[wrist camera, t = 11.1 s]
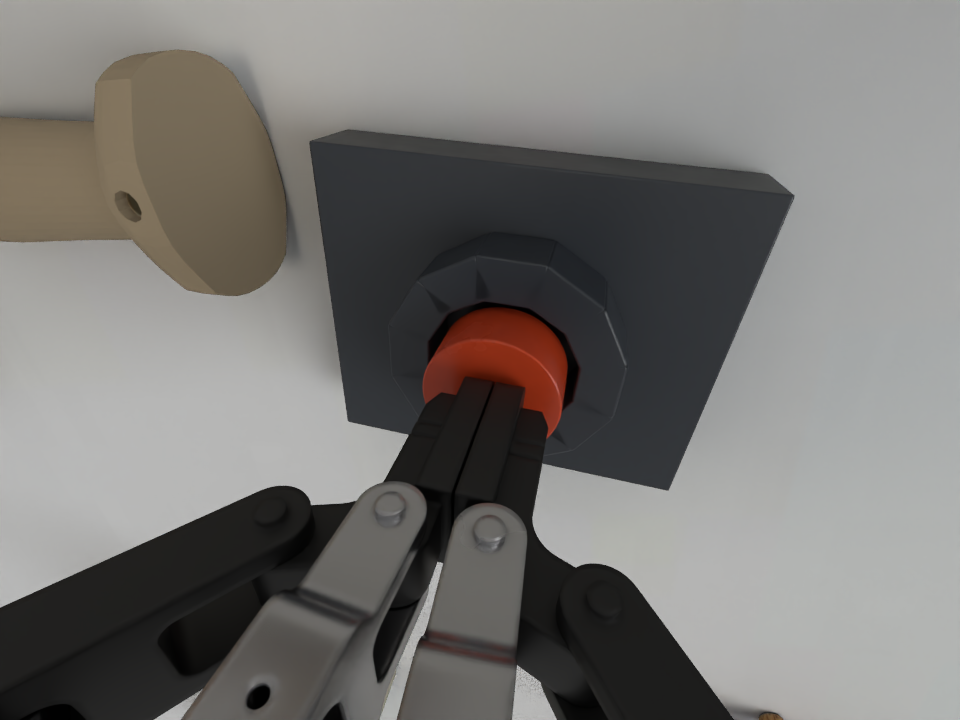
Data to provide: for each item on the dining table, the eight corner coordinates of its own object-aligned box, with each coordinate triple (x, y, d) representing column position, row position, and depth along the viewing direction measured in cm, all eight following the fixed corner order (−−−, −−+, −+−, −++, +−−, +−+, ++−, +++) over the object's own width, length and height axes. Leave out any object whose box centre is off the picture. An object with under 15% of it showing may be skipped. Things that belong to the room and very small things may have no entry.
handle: (-82, 76, 18) (245, 49, 14) (19, 242, 21) (303, 260, 17) (-286, 85, 14) (86, 50, 10) (-121, 286, 17) (203, 322, 13)
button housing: (770, 173, 12) (825, 219, 9) (663, 447, 18) (674, 535, 15) (346, 129, 14) (267, 153, 11) (371, 388, 20) (323, 455, 17)
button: (578, 318, 12) (573, 355, 10) (557, 423, 14) (550, 466, 12) (442, 296, 12) (420, 327, 11) (441, 400, 14) (422, 439, 13)
